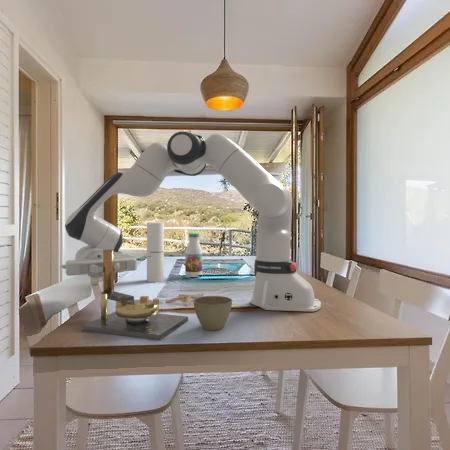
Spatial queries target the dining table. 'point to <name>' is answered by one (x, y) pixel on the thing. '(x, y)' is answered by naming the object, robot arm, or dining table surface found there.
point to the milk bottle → (193, 256)
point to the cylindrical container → (155, 252)
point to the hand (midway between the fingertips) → (108, 269)
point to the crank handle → (125, 302)
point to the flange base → (135, 324)
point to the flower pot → (212, 311)
